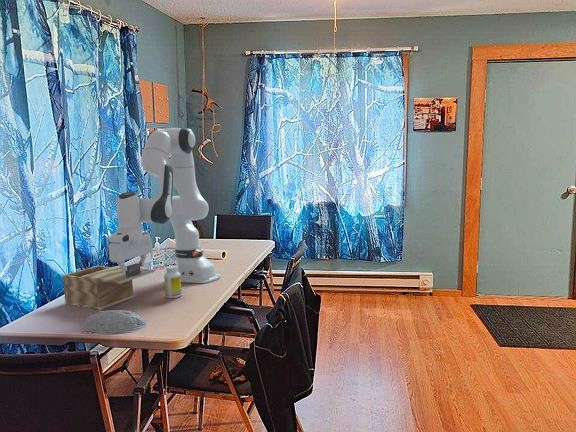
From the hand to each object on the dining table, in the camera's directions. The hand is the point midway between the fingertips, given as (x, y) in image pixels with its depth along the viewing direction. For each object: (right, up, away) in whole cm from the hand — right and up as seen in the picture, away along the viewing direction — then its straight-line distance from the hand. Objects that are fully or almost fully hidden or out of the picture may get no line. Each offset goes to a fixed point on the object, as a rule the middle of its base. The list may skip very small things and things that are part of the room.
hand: (133, 268), depth 211 cm
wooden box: (-17, -14, +12) cm, 25 cm away
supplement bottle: (+13, -13, +15) cm, 24 cm away
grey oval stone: (-1, -19, -19) cm, 27 cm away
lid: (-7, -3, +4) cm, 9 cm away
